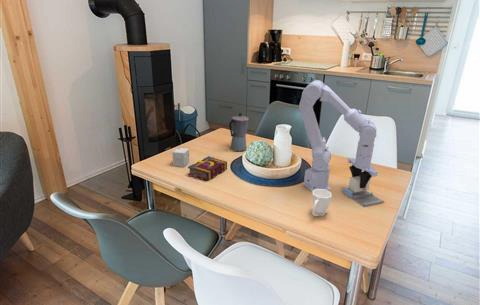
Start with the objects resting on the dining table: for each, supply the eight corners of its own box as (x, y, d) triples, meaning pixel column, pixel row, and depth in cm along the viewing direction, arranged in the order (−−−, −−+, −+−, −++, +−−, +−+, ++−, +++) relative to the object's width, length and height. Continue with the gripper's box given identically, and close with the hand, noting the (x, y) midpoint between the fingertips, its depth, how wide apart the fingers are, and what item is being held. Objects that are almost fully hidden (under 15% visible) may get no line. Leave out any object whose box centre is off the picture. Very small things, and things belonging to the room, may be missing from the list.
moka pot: (252, 147, 178) (254, 112, 171) (238, 155, 166) (238, 118, 159) (238, 143, 183) (238, 109, 176) (223, 151, 171) (222, 115, 164)
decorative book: (227, 170, 150) (227, 160, 148) (206, 183, 138) (206, 172, 136) (208, 164, 156) (208, 155, 154) (186, 176, 143) (185, 166, 141)
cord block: (354, 192, 126) (356, 181, 124) (348, 188, 129) (350, 177, 127) (368, 189, 129) (370, 178, 127) (362, 185, 132) (364, 174, 130)
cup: (332, 211, 118) (335, 192, 115) (322, 224, 110) (324, 203, 107) (314, 205, 121) (316, 186, 118) (303, 217, 114) (305, 197, 111)
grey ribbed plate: (362, 208, 120) (364, 201, 119) (341, 192, 131) (342, 185, 130) (384, 203, 123) (385, 196, 122) (361, 188, 134) (362, 182, 133)
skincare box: (184, 167, 152) (183, 153, 149) (172, 166, 153) (171, 151, 150) (189, 162, 157) (189, 148, 154) (178, 161, 159) (177, 147, 156)
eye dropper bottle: (324, 162, 160) (327, 139, 155) (314, 159, 163) (316, 137, 158) (328, 160, 163) (331, 137, 158) (318, 157, 166) (320, 135, 162)
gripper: (386, 159, 118) (380, 192, 123) (360, 146, 131) (355, 176, 136) (371, 162, 116) (365, 195, 121) (345, 148, 129) (341, 178, 134)
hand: (358, 185), depth 128 cm, fingers closed on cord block, 4 cm apart
